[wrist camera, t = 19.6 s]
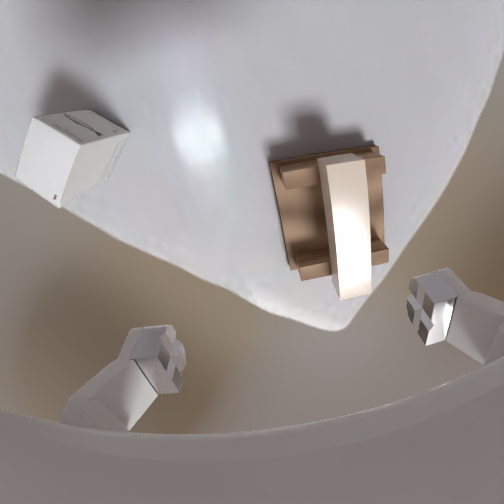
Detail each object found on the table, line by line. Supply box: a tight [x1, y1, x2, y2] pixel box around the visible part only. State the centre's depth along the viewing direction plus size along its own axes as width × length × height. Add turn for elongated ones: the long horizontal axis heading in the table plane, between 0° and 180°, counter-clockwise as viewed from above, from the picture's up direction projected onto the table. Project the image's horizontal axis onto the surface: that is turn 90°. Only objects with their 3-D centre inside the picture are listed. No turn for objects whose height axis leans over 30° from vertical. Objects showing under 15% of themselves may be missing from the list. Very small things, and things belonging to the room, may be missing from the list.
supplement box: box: [15, 110, 130, 208], centre depth 28 cm, size 7×7×13 cm
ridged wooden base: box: [270, 145, 389, 281], centre depth 36 cm, size 15×14×5 cm
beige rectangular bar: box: [317, 153, 371, 300], centre depth 32 cm, size 16×4×4 cm, turn 12°
